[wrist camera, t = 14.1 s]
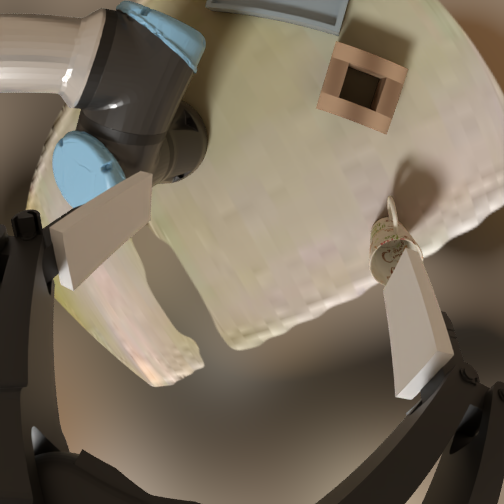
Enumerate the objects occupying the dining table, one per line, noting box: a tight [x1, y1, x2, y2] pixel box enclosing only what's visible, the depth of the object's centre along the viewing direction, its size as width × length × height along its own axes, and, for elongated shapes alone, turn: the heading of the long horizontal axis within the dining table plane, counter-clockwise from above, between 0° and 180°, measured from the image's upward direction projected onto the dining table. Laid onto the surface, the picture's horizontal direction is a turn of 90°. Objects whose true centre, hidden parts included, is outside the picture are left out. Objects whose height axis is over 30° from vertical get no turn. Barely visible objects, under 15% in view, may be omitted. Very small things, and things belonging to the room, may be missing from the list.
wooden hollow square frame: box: [316, 41, 408, 134], centre depth 35 cm, size 10×10×6 cm
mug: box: [369, 196, 423, 286], centre depth 43 cm, size 8×13×10 cm, turn 16°
